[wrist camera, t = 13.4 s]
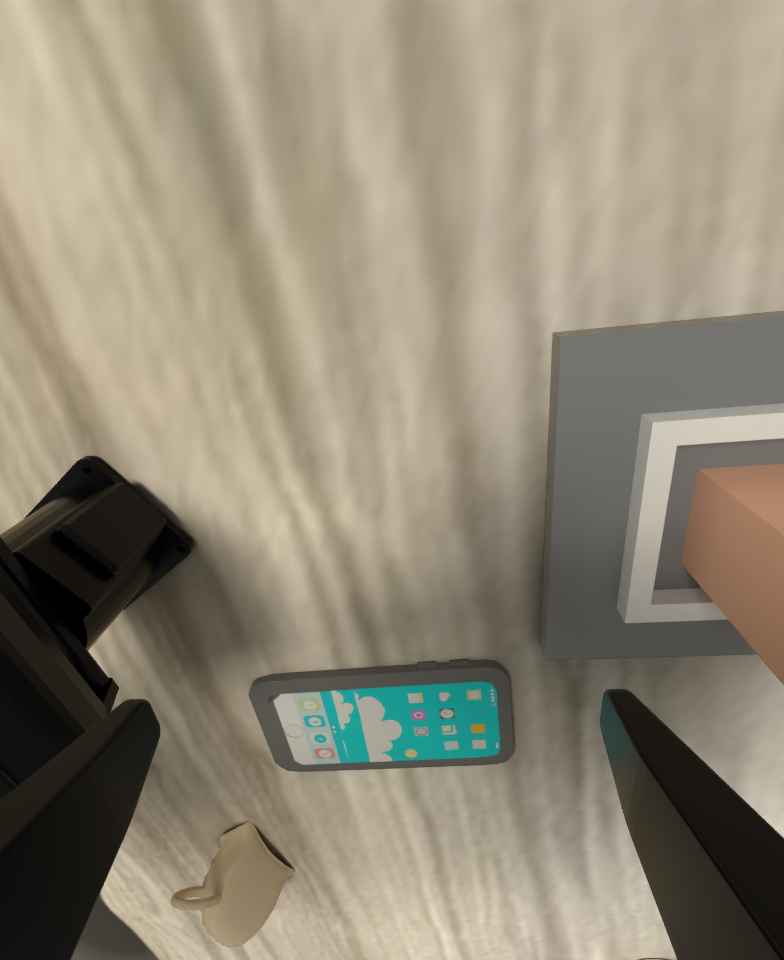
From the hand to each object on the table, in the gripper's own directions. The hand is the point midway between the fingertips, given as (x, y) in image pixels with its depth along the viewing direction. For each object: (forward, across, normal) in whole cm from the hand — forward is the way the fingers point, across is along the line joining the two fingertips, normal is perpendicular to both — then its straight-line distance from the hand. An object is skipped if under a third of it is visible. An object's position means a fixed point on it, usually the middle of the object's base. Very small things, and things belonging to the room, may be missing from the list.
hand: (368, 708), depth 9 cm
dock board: (+13, -14, +3) cm, 20 cm away
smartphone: (+14, +2, +17) cm, 22 cm away
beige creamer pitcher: (+13, +14, +31) cm, 36 cm away
